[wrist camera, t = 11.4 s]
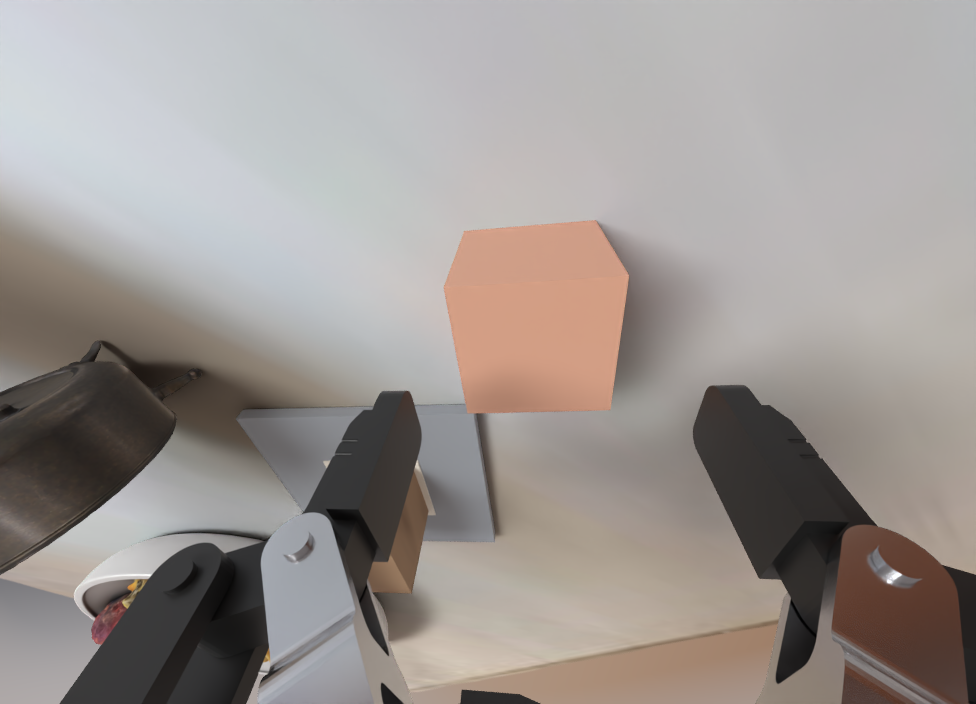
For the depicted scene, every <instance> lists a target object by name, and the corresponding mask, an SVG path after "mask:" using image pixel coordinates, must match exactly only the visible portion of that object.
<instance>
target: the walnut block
mask: <svg viewBox="0 0 976 704" xmlns="http://www.w3.org/2000/svg"><path fill="white" fill-rule="evenodd" d="M428 512H429V511H428V508H427V505H426V502H425V500H424V497H423V494H422V491H421V488H420V486H419V483H418V480H417V477H416V475H415V472H413V476H412V479H411V483H410V486H409V490H408V494H407V497H406V501H405V504H404V508H403V511H402V515H401V518H400V522H399V525H398V529H397V532H396V536H395V539H394V543H393V546H392V550H391V553H390V557H389V560H388V562H373V564H372V567H371V570H370V573H369V576H368V580H369V583H370V586H371V589H372V592H383V593H412V589H413V584H414V579H415V575H416V570H417V565H418V560H419V555H420V551H421V546H422V541H423V536H424V531H425V526H426V522H427V517H428Z"/></svg>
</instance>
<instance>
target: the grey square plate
mask: <svg viewBox="0 0 976 704" xmlns="http://www.w3.org/2000/svg"><path fill="white" fill-rule="evenodd" d="M373 407H374V406H373ZM373 407H329V408H286V409H243V411H242V412H241V413H240V414H239V415H238V416H237V418H236V420H237V421H238V423H239V424H240V425H241V427H242V428H243V430H244V431H245V432H246V434H247V435H248V437H249V438H250V439H251V441H252V442H253V443H254V445H255V446H256V448H257V449H258V450H259V452H260V453H261V454H262V456H263V457H264V459H265V460H266V461H267V463H268V464H269V465H270V467H271V468H272V470H273V471H274V472H275V474H276V475H277V477H278V478H279V479H280V481H281V482H282V483H283V485H284V486H285V488H286V489H287V490H288V492H289V493H290V494H291V496H292V497H293V499H294V500H295V501H296V503H297V504H298V505H299V507H300V508H301V510H302V511H303V512H304V511H305V509H306V507H307V505H308V503H309V502H310V500H311V498H312V496H313V494H314V492H315V490H316V488H317V486H318V484H319V482H320V480H321V478H322V476H323V474H324V472H325V471H326V469H327V467H328V465H329V463H330V461H331V459H332V457H333V456H335V451H336V449H337V447H338V445H339V443H341V442H342V438H343V436H344V434H345V432H346V430H347V428H348V426H349V424H350V423H351V422H352V421H353V420H354V419H355V418H356V417H357V416H358V415H359V414H360V413H361V412H362V411H363V410H372V409H373ZM415 409H416V413H417V416H418V419H419V423H420V426H421V432H422V440H421V447H420V451H419V455H418V458H417V462H416V465H415V469H414V472H415V475H416V477H417V480H418V483H419V486H420V488H421V491H422V494H423V497H424V500H425V502H426V505H427V508H428V511H429V512H428V517H427V522H426V526H425V531H424V536H423V541H458V542H495V528H494V522H493V516H492V509H491V503H490V497H489V491H488V484H487V478H486V472H485V465H484V459H483V453H482V447H481V440H480V434H479V428H478V421H477V415H476V413H469V414H468V413H467V408H466V404H459V405H416V406H415Z"/></svg>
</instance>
